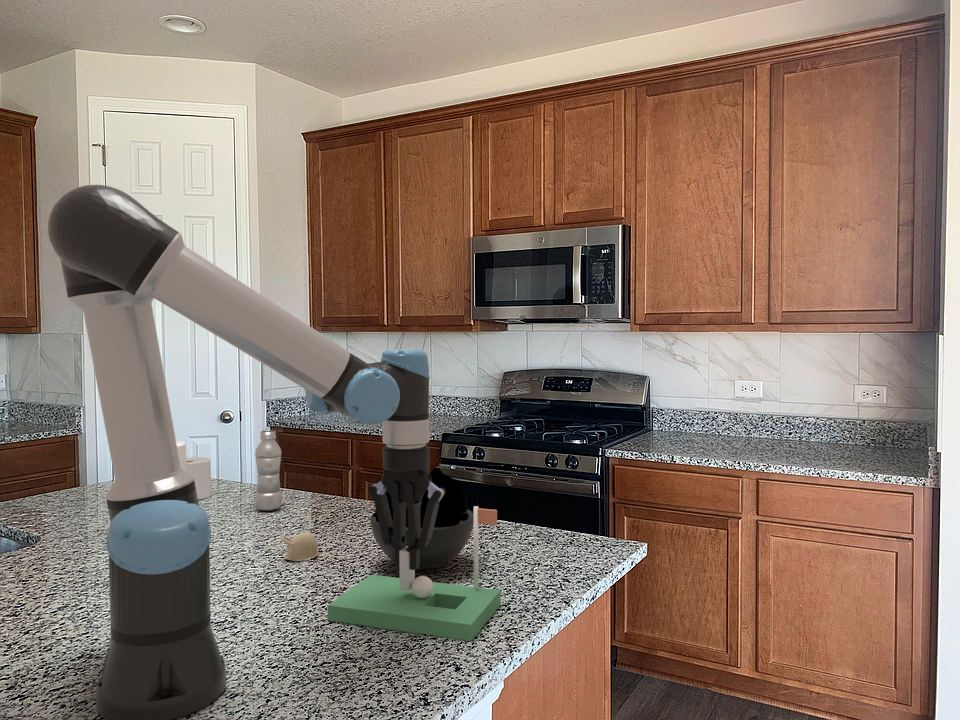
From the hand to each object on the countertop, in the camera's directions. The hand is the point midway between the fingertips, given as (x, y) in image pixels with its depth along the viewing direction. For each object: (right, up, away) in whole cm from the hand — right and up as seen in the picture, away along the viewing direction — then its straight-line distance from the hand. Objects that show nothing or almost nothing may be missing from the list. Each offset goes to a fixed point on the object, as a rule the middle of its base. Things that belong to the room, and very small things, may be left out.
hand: (407, 587), depth 120 cm
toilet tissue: (-67, 0, +80) cm, 104 cm away
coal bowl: (+1, -3, +22) cm, 23 cm away
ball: (+3, 0, -1) cm, 3 cm away
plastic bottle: (-42, -1, +66) cm, 78 cm away
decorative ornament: (-24, -3, +27) cm, 37 cm away
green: (+2, -4, 0) cm, 4 cm away
